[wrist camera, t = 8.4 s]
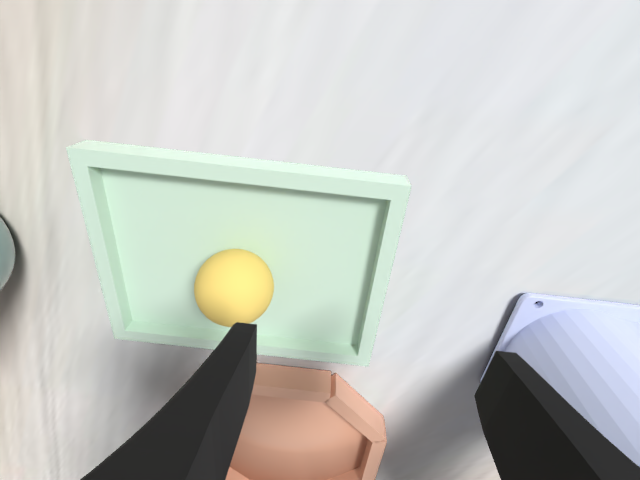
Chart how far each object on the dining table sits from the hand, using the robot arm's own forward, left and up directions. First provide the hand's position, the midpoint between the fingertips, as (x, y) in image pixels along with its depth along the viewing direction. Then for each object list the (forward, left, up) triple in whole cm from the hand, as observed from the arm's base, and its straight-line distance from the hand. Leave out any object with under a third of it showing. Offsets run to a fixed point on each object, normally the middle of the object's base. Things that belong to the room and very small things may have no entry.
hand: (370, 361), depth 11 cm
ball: (+6, +3, -9) cm, 11 cm away
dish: (+3, +19, -9) cm, 21 cm away
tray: (+6, +3, -9) cm, 12 cm away
